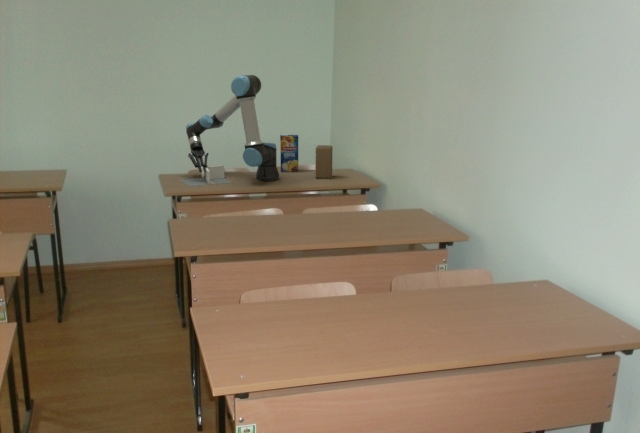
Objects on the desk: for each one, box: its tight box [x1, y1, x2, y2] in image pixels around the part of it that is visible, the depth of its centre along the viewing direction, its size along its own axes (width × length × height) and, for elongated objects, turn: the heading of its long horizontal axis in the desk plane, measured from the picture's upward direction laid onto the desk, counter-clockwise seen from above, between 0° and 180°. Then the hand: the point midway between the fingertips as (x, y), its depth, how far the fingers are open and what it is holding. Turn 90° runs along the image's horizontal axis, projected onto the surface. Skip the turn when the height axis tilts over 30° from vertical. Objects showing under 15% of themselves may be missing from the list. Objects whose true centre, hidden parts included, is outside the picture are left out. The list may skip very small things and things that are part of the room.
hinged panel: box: [204, 168, 211, 185], centre depth 382 cm, size 13×1×8 cm, turn 16°
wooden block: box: [315, 144, 333, 180], centre depth 400 cm, size 10×10×20 cm
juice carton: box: [279, 134, 299, 173], centre depth 420 cm, size 12×8×24 cm, turn 94°
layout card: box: [179, 177, 233, 187], centre depth 386 cm, size 27×22×1 cm
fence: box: [204, 164, 225, 180], centre depth 391 cm, size 12×2×9 cm, turn 117°
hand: (203, 176), depth 380 cm, fingers closed
